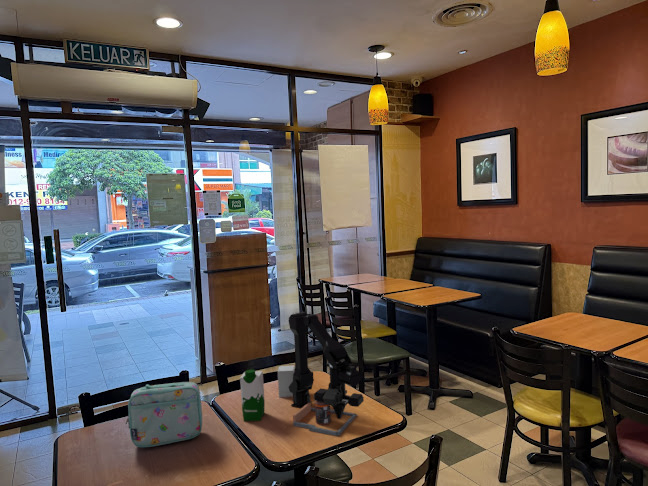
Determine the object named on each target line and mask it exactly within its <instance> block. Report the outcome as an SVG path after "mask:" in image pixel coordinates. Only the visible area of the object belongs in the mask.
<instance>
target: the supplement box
mask: <svg viewBox="0 0 648 486" xmlns="http://www.w3.org/2000/svg"><path fill="white" fill-rule="evenodd" d="M277 369H278V370H277V383H278V385H277V386H278V398H290V397H291V398H293V393H291V392H290V391H289V386H290V384H291V383H292V382H293V374H294V372H295V370H296V368H295V365H281V366H280V365H279V366H278V368H277Z"/></svg>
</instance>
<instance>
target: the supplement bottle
mask: <svg viewBox="0 0 648 486" xmlns="http://www.w3.org/2000/svg"><path fill="white" fill-rule="evenodd" d="M314 408H315V411H314V413H315V423H316V424H317V425H319V426H326V425H327V426H328V425H329V424H331V422H332V418H331V417H332V415H331V413H330V409H331V405H325V403H324V399H322V400H321V401H317V400H314Z"/></svg>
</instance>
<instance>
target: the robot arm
mask: <svg viewBox="0 0 648 486" xmlns="http://www.w3.org/2000/svg"><path fill="white" fill-rule="evenodd" d="M288 325H289V329H290V331H291V332H292V333H293V337H294V338H293V340H294V351H295V353H294V356H295V372H294V374H293V382H292V383H291V384H290V386H289V391H290V392H291V393H293V397H292V401H293V403H292V404H291V407H293V408H300V409H301V408H302V407H304V406H305V405H306V404H307V403H311V404H312V401H311V394H310V390H312V388H313V385H314V381H315V379H314V372H313V371H311V370H310V368H309V364H308V363H309V360H308V349H307V332H308V330H310V331H311V332H312V334H313V335H314V336H315V338H316V340H317V341H318V343H319V344H320V345H321V347H322V349H323V351H322V352H323V355H324V357H325V360H326V361H327V363H325V366H326V367H328V369H329V383H328V385H327V386H328V388H319V389H318V390H316V391H315V393H314V394H313V400H314V401H315V400H317V401H321V400H322V399H324V403H325V405H330V407H332V410H334V411H335V413H334V414H335V415H336V418H337V419H338V420H342V417H343V416H344V415H343V412H345V409H346V407H347V405H349V406H351V407H356V408H358V407H359V406H361V404H362V403H363V402H365V400H364V395H363V394H362V393H354V392H353V393H352V394H351V395H349V394H347V393H348V390H347V389H346V384H347V385H349V386H352V387H357V386H358V385H359V383H360V382H361V378H362V375H361V373H360V371H359V370H357V367H356V366H354V365H353V362H352V360H351V357H350V355H349V354H348V351H347V350H346V348H345V346H343V345H342V344H341V343H340V341H337V340H335V339H334V338H333V337H332V336H331V335H330V333H329V332H328V331H327V328H325V326H324V325H323V324H322V321H320V319H319V317H318V315H317V314H315V313H313V314H312V313H306V312H305V311H302V312H297V313H292V314H290V316H288Z"/></svg>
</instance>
